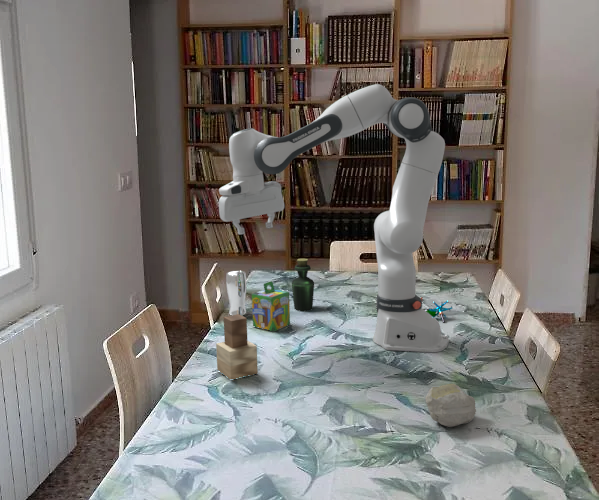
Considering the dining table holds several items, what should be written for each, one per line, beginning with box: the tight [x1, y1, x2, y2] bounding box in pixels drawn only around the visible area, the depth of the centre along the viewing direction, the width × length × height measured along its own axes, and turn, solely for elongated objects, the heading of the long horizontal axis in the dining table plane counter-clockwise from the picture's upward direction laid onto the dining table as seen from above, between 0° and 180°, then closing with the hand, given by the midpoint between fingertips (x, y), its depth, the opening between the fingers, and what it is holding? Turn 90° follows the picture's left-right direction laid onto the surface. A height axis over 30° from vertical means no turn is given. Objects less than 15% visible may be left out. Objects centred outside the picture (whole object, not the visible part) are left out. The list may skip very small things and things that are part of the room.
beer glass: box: [225, 270, 247, 315], centre depth 232 cm, size 7×7×15 cm
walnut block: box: [223, 314, 249, 349], centre depth 178 cm, size 4×4×8 cm
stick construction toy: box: [423, 300, 454, 324], centre depth 222 cm, size 12×7×8 cm
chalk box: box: [251, 280, 291, 332], centre depth 218 cm, size 9×9×15 cm
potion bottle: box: [291, 258, 315, 312], centre depth 237 cm, size 8×8×18 cm
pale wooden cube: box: [215, 340, 259, 380], centre depth 179 cm, size 8×8×8 cm
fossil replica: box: [424, 383, 477, 428], centre depth 148 cm, size 12×8×10 cm
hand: (255, 231), depth 200 cm, fingers open, 8 cm apart
